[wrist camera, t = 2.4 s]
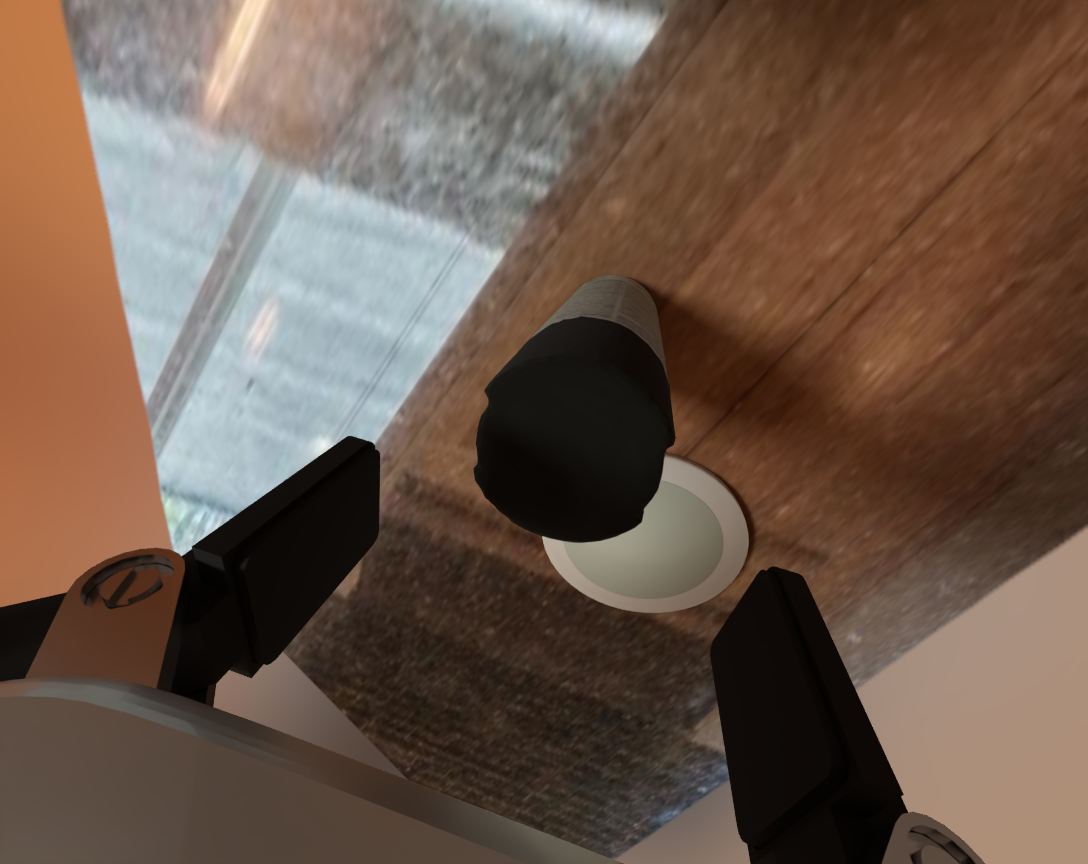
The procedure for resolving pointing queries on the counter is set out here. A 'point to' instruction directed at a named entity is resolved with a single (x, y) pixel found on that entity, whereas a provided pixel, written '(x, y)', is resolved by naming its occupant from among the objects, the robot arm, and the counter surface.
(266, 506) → the robot arm
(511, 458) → the spray can
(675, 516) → the dish
